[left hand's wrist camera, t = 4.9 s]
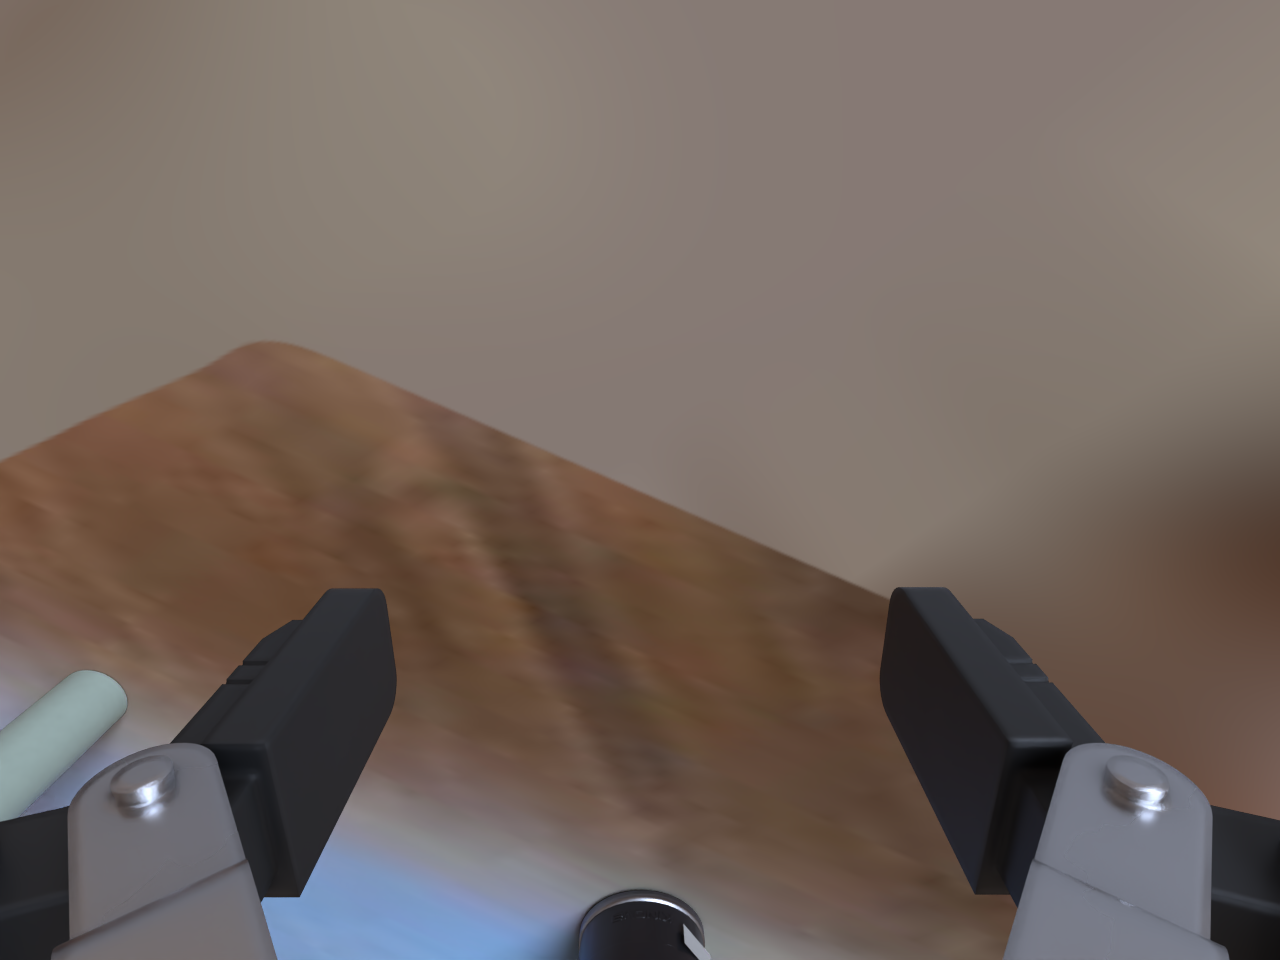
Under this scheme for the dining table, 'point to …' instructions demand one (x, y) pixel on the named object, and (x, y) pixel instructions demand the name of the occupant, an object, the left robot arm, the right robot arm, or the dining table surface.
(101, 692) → the mint green cylinder
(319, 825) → the left robot arm
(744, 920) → the dining table surface
